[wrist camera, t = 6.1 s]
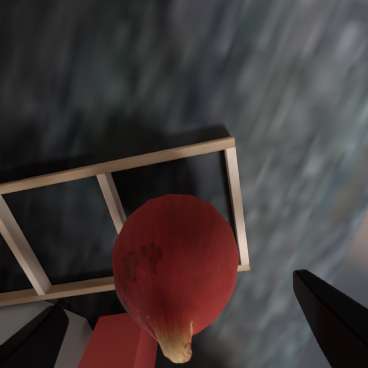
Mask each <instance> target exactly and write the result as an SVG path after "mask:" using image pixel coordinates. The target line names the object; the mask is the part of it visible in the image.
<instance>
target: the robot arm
mask: <svg viewBox="0 0 368 368" xmlns="http://www.w3.org/2000/svg"><path fill="white" fill-rule="evenodd" d="M293 289H294V293H295V295H296V297H297V300H298V302H299V304H300V306H301V308H302V310H303V313H304V315H305V317H306V319H307V321H308V323H309V325H310V328H311V330H312V332H313V334H314V336H315V338H316V340H317V342H318V344H319V346H320V348H321V350H322V352H323V353H324V355H325V357H326V359H327V360H328V362H329V364H330V365H331V367H332V368H368V308H366V307H364V306H363V305H361V304H360V303H358V302H356V301H355V300H353V299H352V298H350V297H349V296H347V295H346V294H344V293H342V292H341V291H339V290H338V289H336V288H335V287H333V286H331V285H330V284H328V283H327V282H325V281H324V280H322V279H320V278H319V277H317V276H316V275H314V274H313V273H311V272H309V271H308V270H305V269H302V270H295V271H294V272H293ZM68 325H69V317H68V316H67V314H66V312H65V310H64V308H63V307H62V305H60V304H57V305H51V306H48V307H47V308H46V309H44V310H43V311H42V312H41V313H40V314H38V315H37V316H36V317H35V318H33V319H32V320H31V321H30V322H28V323H27V324H26V325H25V326H23V327H22V328H21V329H20V330H19V331H17V332H16V333H15V334H14V335H12V336H11V337H10V338H9V339H7V340H6V341H5V342H4V343H2V344H1V345H0V368H54V366H55V363H56V361H57V358H58V355H59V352H60V349H61V346H62V343H63V340H64V337H65V334H66V331H67V328H68Z"/></svg>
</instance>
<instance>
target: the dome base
mask: <svg viewBox="0 0 368 368" xmlns="http://www.w3.org/2000/svg"><path fill="white" fill-rule="evenodd" d="M51 305H54V304H52V303H50V302H47V301H45V300H41V301H34V302H27V303H20V304H13V305H6V306H0V345H1V344H2V343H4V342H5V341H6V340H7V339H9V338H10V337H11V336H12V335H14V334H15V333H16V332H17V331H19V330H20V329H21V328H22V327H23V326H25V325H26V324H27V323H28V322H30V321H31V320H32V319H33V318H35V317H36V316H37V315H38V314H40V313H41V312H42V311H43V310H44V309H46V308H47V307H48V306H51ZM64 310H65V312H66V314H67V316H68V317H69V325H68V328H67V331H66V334H65V337H64V340H63V343H62V346H61V349H60V352H59V355H58V358H57V361H56V363H55V366H54V368H155V360H156V353H157V345H158V342H157V340H156V339H154V338H153V337H152V336H151V335H150V334H149V332H147V331H145V330H144V329H143V328H141V327H140V326H139V325H138V324H137V323H136V322H135V321H134V319H133V318H132V317H131V316H130V315H129V314H128V313H122V314H115V315H108V316H100V317H99V319H98V321H97V324H96V326H95V328H94V330H93V331H92V329H91V327H90V325H89V323H88V321H87V319H86V318H84V317H81V316H79V315H77V314H75V313H72V312H70V311H68V310H66V309H64Z"/></svg>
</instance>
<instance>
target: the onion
mask: <svg viewBox="0 0 368 368" xmlns="http://www.w3.org/2000/svg"><path fill="white" fill-rule="evenodd" d="M238 262H239V256H238V248H237V244H236V241H235V238H234V235H233V232H232V229H231V226H230V225H229V224H228V223H227V221H226V220H225V219H224V218H223V217H222V216H221V215H220V213H219V212H218V211H217V210H216V209H215V208H214V207H213V206H212V205H211V204H210V203H208V202H206V201H203V200H201V199H199V198H197V197H194V196H192V195H182V194H167V195H164V196H160V197H157V198H153V199H150V200H148V201H147V202H146V203H144V204H143V205H142V206H141V207H139V208H138V209H137V210H135V211H134V212H133V213H132V214H131V215H130V216H129V217H128V218H127V219H126V221H125V223H124V225H123V227H122V229H121V231H120V233H119V235H118V237H117V239H116V241H115V245H114V248H113V251H112V267H113V277H114V286H115V290H116V293H117V297H118V298H119V300H120V302H121V304H122V306H123V307H124V308H125V310H126V311H127V313H128V314H129V315H130V316H131V317H132V318H133V319H134V321H135V322H136V323H137V324H138V325H139V326H140V327H141V328H143V329H144V330H145V331H147V332H149V334H150V335H151V336H152V337H153V338H154V339H156V340H157V341H158V342H159V344H160V346H161V349H162V351H163V354H164V356H166V357H167V358H168V359H170V360H171V361H172V362H174V363H184V362H187V361H189V360H190V359H191V356H192V349H191V339H192V335H195V334H197V333H199V332H200V331H201V330H203V329H204V328H206V327H207V326H208V325H210V324H211V323H212V322H213V321H214V320H215V319H216V318H217V317H218V316H219V314H220V313H221V311H222V310H223V308H224V307H225V305H226V304H227V302H228V301H229V299H230V297H231V295H232V293H233V291H234V288H235V283H236V277H237V269H238Z"/></svg>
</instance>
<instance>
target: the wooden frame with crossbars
mask: <svg viewBox="0 0 368 368" xmlns="http://www.w3.org/2000/svg"><path fill="white" fill-rule="evenodd" d="M219 150H224V154H225V161H226V168H227V176H228V183H229V190H230V197H231V205H232V212H233V219H234V226H235V233H236V241H237V248H238V255H239V262H238V269H237V272H238V271H245V270H250V267H249V259H248V250H247V242H246V233H245V225H244V217H243V208H242V200H241V191H240V183H239V174H238V166H237V158H236V149H235V141H234V138H233V137H226V138H221V139H216V140H211V141H206V142H201V143H197V144H192V145H187V146H182V147H177V148H172V149H167V150H163V151H158V152H153V153H148V154H143V155H138V156H133V157H129V158H124V159H119V160H114V161H109V162H104V163H99V164H95V165H90V166H85V167H80V168H75V169H70V170H65V171H61V172H56V173H51V174H46V175H41V176H36V177H31V178H27V179H22V180H17V181H12V182H7V183H2V184H0V232H1V234H2V235H3V237H4V239H5V240H6V242H7V244H8V245H9V247H10V249H11V250H12V252H13V254H14V255H15V257H16V259H17V260H18V262H19V264H20V265H21V267H22V268H23V270H24V272H25V273H26V275H27V277H28V278H29V280H30V282H31V283H32V285H33V287H34V288H33V289H26V290H20V291H13V292H7V293H0V306H6V305H13V304H20V303H27V302H34V301H41V300H47V299H54V298H61V297H68V296H75V295H81V294H88V293H95V292H102V291H109V290H115V286H114V277H113V276H111V277H105V278H98V279H92V280H85V281H78V282H72V283H65V284H59V285H51V283H50V281H49V279H48V277H47V276H46V274H45V272H44V270H43V269H42V267H41V265H40V263H39V261H38V260H37V258H36V256H35V254H34V253H33V251H32V249H31V247H30V245H29V244H28V242H27V240H26V238H25V236H24V235H23V233H22V231H21V229H20V228H19V226H18V224H17V222H16V220H15V219H14V217H13V215H12V213H11V212H10V210H9V208H8V206H7V204H6V203H5V201H4V199H3V197H2V196H1V194H5V193H10V192H15V191H20V190H25V189H30V188H35V187H40V186H45V185H50V184H55V183H60V182H65V181H70V180H75V179H80V178H85V177H90V176H94V175H96V176H97V179H98V181H99V184H100V187H101V189H102V192H103V195H104V198H105V200H106V203H107V206H108V208H109V211H110V214H111V216H112V219H113V222H114V224H115V227H116V230H117V232H118V235H119V233H120V231H121V229H122V227H123V225H124V223H125V221H126V216H125V213H124V210H123V207H122V204H121V201H120V198H119V195H118V193H117V190H116V187H115V184H114V181H113V178H112V175H111V172H114V171H119V170H124V169H129V168H134V167H139V166H144V165H149V164H154V163H159V162H164V161H169V160H174V159H179V158H184V157H189V156H194V155H199V154H204V153H209V152H214V151H219Z"/></svg>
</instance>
